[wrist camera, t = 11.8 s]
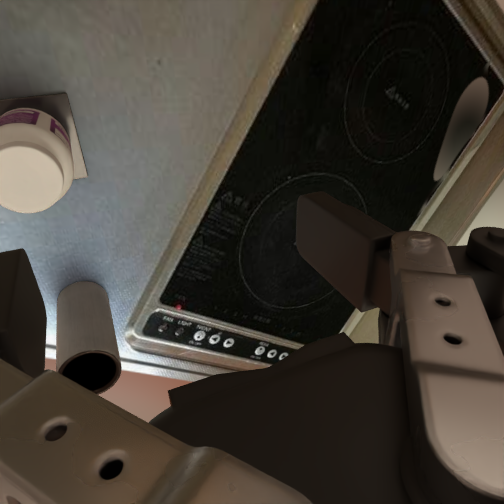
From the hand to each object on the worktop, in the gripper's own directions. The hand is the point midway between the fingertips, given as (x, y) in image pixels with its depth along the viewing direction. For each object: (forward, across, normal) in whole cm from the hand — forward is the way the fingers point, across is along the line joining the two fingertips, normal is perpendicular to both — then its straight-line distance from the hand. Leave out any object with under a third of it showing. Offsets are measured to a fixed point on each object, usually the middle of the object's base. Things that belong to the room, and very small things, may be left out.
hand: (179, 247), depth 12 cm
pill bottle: (+24, +6, +2) cm, 25 cm away
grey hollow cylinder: (+24, +5, +17) cm, 30 cm away
